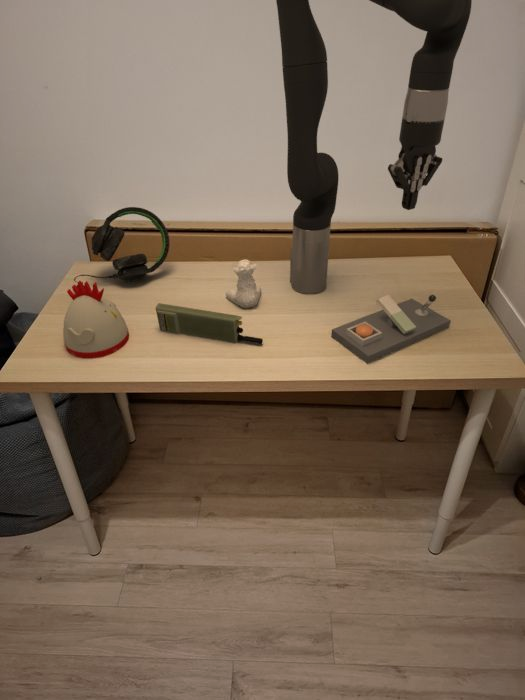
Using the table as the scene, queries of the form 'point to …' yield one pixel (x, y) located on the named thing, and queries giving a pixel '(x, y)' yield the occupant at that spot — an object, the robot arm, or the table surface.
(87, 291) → the kitchen timer
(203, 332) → the handheld radio
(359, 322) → the panel
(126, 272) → the headset
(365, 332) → the button
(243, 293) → the sitting furry creature
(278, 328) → the table surface
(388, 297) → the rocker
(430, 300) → the lever
